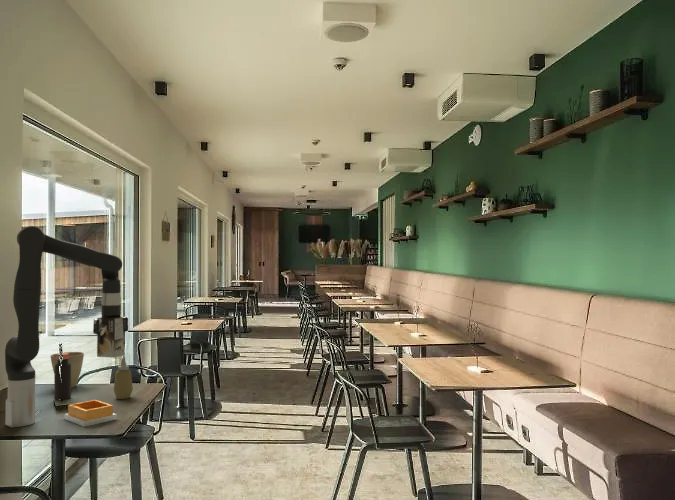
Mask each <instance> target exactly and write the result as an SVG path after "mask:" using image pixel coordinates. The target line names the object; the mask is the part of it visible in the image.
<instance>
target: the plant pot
mask: <svg viewBox="0 0 675 500" xmlns="http://www.w3.org/2000/svg"><path fill="white" fill-rule="evenodd" d="M59 353H60V352H57V353H53V354H51V355H50V362H51V366H52V371H53V372H54V368H55V365H56V364H57V362H58V360H57V354H59ZM63 353H69V360H68V362H69V363H70V364H71V389H72V388H75V387H76V386H77V385H78V381H79V378H80V375H81V371H82V369H83V368H82V367H83V363H84V357H85V353H84V352H82V351H68V352H67V351H66V352H63Z"/></svg>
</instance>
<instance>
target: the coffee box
mask: <svg viewBox="0 0 675 500" xmlns="http://www.w3.org/2000/svg"><path fill="white" fill-rule="evenodd" d="M124 317H125V316H123V317H122V316H121V317H113V318H106V324H105V325H104V324H103V323H100V325H99V330H100V328H104V327H105V326H106V325H107V327H106V328H107V330H106V331H105V332H104V334H103V345H100V344H99V343H98V335H97V334H96V338H97V340H96V356H97V358H113V359H115V358H120V357H124V356H125V332H124ZM101 318H102V316H100V317H96V319H101Z"/></svg>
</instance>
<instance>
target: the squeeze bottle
mask: <svg viewBox="0 0 675 500" xmlns="http://www.w3.org/2000/svg"><path fill="white" fill-rule="evenodd" d="M133 391H134V390H133V377H132V371H131V370H130V365H127V361H126V358H125V357H122V358H121V361H120V365H118V366H117V370H116V371H115V377H114V384H113V393H114V395H115V398H116V399H117V400H127V399H129V398H131V395H132V393H133Z"/></svg>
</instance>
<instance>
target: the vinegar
mask: <svg viewBox="0 0 675 500" xmlns="http://www.w3.org/2000/svg"><path fill="white" fill-rule="evenodd" d="M61 353H62V355H63V361H62V366H61V379H62V383H61V380H60V374H59V366H60V361H59V354H57V353H56V354H57V360H58V362H57V364H56V365H55V368H54V371H53V375H54V377H53V379H54V382H53V383H54V384H53V386H54V387H53V388H54V389H53V390H54V396H53V397H54V400H55V399H56V401H60V400H59V399H63V400H62V401H64V400H69V399H71V398H72V388H71V364H70V363H69V362H68V360H69V353H64V352H61Z"/></svg>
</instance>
